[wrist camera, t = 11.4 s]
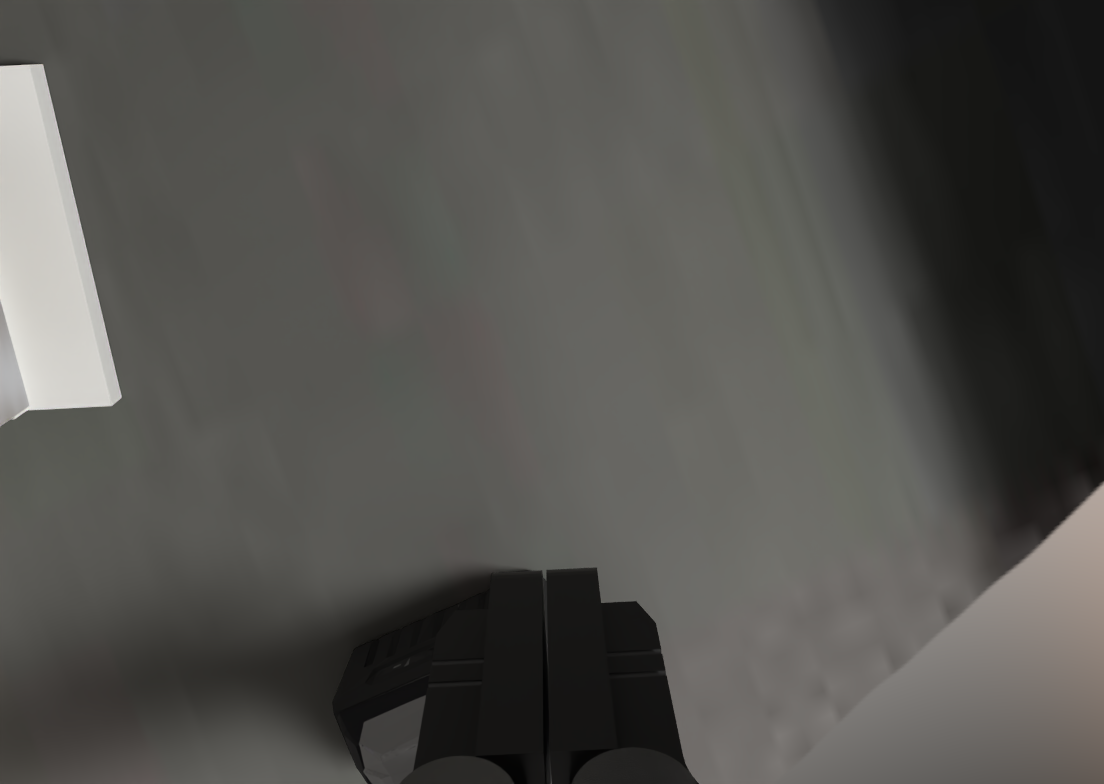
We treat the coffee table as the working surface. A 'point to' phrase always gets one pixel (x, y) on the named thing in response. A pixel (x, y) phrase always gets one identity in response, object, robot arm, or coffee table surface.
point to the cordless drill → (392, 695)
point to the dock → (46, 257)
